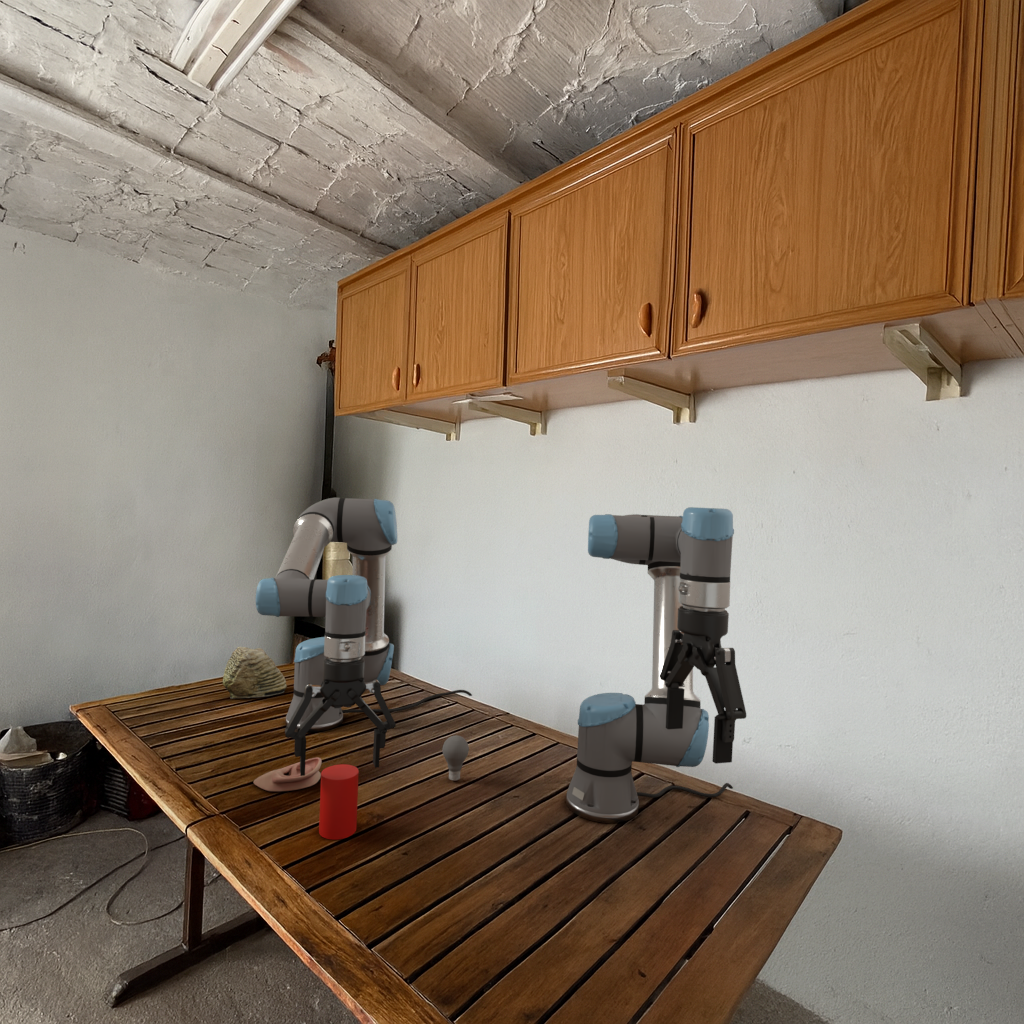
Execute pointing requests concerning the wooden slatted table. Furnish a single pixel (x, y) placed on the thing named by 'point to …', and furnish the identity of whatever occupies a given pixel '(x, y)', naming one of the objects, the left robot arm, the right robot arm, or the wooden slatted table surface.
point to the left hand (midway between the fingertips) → (339, 768)
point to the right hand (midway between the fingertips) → (696, 744)
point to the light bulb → (455, 755)
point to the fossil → (252, 674)
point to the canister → (338, 801)
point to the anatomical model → (291, 777)
